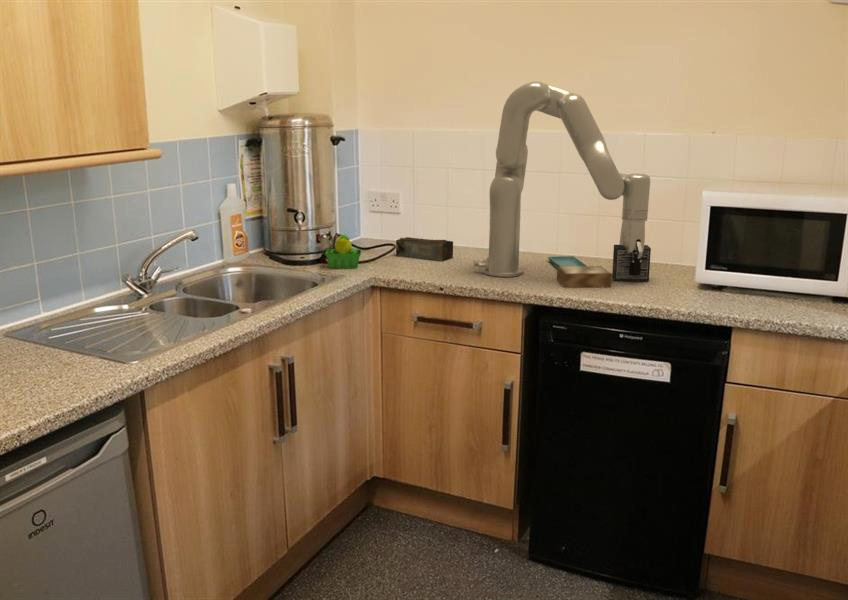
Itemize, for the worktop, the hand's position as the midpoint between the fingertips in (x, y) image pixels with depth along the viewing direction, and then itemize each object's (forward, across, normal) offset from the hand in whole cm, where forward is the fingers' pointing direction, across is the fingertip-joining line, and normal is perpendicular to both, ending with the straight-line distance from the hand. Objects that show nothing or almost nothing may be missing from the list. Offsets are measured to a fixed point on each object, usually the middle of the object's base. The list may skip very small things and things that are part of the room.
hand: (630, 271), depth 245 cm
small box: (+3, 0, 0) cm, 3 cm away
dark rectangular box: (+3, -36, -62) cm, 72 cm away
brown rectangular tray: (+2, +5, -16) cm, 17 cm away
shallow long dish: (+3, -15, -15) cm, 21 cm away
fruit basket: (+3, -21, -89) cm, 92 cm away
